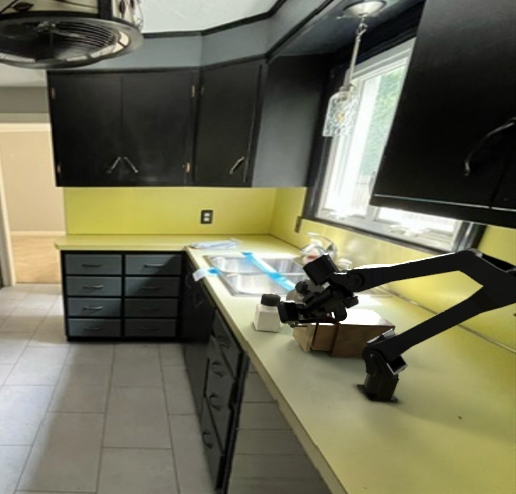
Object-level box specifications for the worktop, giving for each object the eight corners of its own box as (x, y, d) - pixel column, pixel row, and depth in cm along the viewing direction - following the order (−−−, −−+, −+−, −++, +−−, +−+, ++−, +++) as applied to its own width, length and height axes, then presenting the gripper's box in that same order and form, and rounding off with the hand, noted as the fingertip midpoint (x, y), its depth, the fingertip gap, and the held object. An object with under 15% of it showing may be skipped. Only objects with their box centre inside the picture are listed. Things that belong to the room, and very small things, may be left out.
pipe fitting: (283, 304, 147) (290, 281, 142) (304, 308, 145) (313, 285, 140) (283, 317, 138) (292, 293, 132) (306, 322, 135) (316, 297, 130)
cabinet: (331, 356, 107) (341, 323, 103) (314, 338, 118) (322, 308, 114) (383, 359, 106) (396, 325, 101) (361, 341, 117) (371, 310, 113)
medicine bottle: (278, 332, 123) (285, 298, 118) (256, 330, 124) (262, 297, 119) (273, 324, 129) (280, 292, 124) (253, 322, 131) (258, 290, 126)
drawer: (287, 350, 108) (294, 323, 105) (276, 334, 119) (281, 309, 115) (352, 353, 107) (361, 326, 103) (335, 337, 117) (342, 312, 113)
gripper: (352, 271, 98) (317, 297, 112) (287, 273, 96) (260, 299, 110) (365, 309, 94) (327, 331, 108) (298, 311, 92) (268, 333, 106)
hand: (295, 322), depth 109 cm, fingers closed
